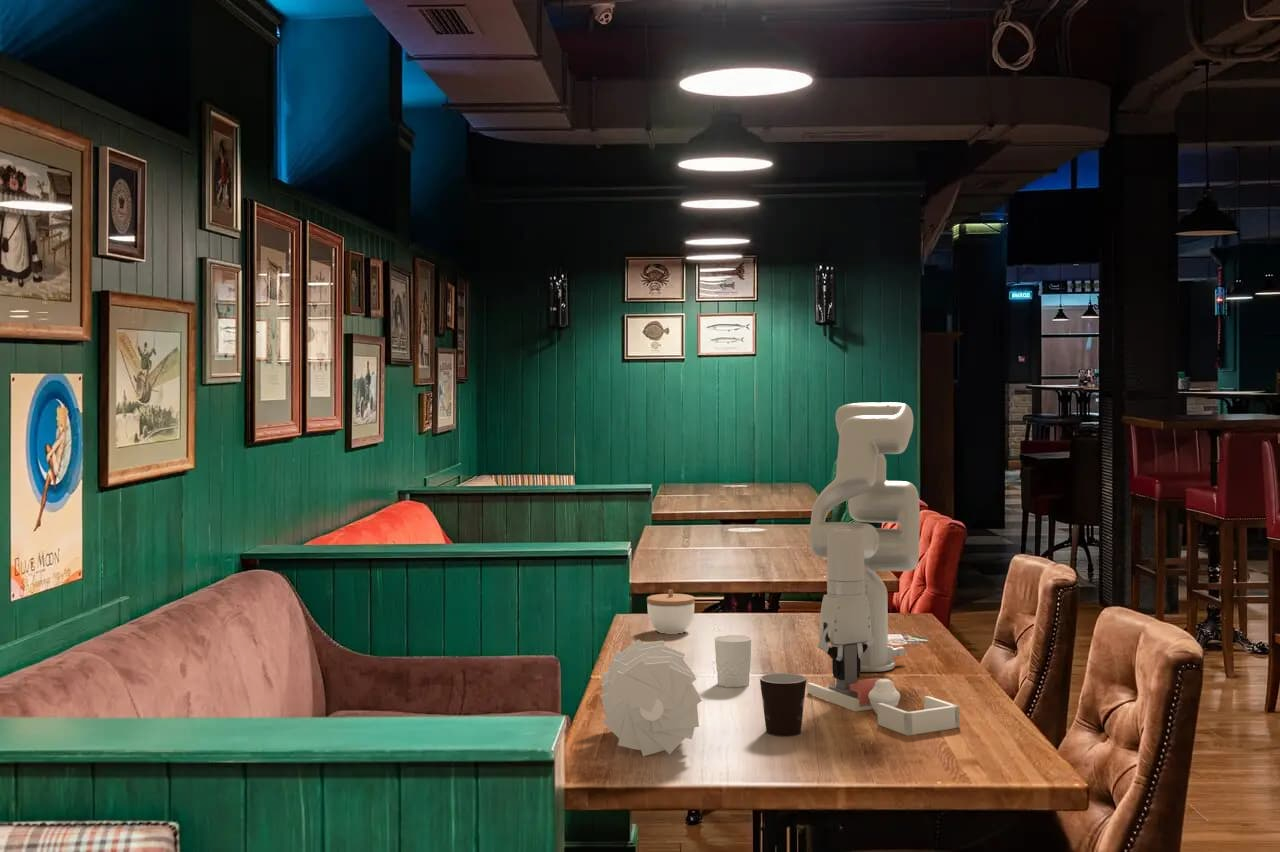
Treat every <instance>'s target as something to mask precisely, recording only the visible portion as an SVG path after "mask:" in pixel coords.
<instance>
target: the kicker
mask: <svg viewBox="0 0 1280 852" xmlns="http://www.w3.org/2000/svg"><path fill="white" fill-rule="evenodd" d="M842 660H843V661H844V662H845V679H844V680H839V679H836V678H835V679H836V685H835V684H834V685H828V686H827V687H828V689H830V690H833V691H836V692H839V693H842V694H844V695H847V696H850V697H853V698H857V697H858V700H859V704H861V705H863V704H870V699H869V697H868V694H869V692H870V691H871V690H872V689H873V687H874V686H875V682H876V681H877V680H879V679H883V678H882V677H871V678H865V679H858V678H857V644H849V645H843V654H842Z"/></svg>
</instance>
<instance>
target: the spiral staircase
mask: <svg viewBox="0 0 1280 852" xmlns="http://www.w3.org/2000/svg"><path fill="white" fill-rule="evenodd" d="M685 655H686V653H685V652H682V651H680V650H677V649H675V648H672V647H670V646H668V645H665V640H657V641H649V642H642V641H641V639H639V638H638V639H637V640H636V641H634V642H633V643H632V644H630V645H629V646H628V647H626V648H625V649H624V650H623V651H619V650H617V649H616V650H615V653H614V656H613V657H612V660H611V662H610V665H609V667H608V669H607V671H606V672H604V673H603V672H602V673H601V677H602V680H603V683H600V687H601V689H602V692H603V694H601V695H600V699H601V702H602V706H603V709H602V710H601V711H602V713H603V714H604V715H605V717H606V718H605V719H604V721H603V722H602V724H603V725H605V726H606V728H607V729H609V730H610V731H611V732H612V733H613V734H614V735H615V736H616V737H617V738H618V741H617V742H618V743H617V746H619V747H624V748H628V749H632V750H637V751H641V754H642V757H646V756H649V755H653V754H656V753H659V752H662V751H666V752H667V753H668V754H669V755H671V754H672V753H673V751H674V750H675V749H676V748H677V747H678V746H679V745H680V744H681V743H682V742H683V741H684V740H686V739H688V740H692V739H693V735H694V731H695V728H699V727H700V724H699V712H698V705H699V704H700V703H701V702H702V701H703V700H702V699H701V695H700V694H699V692H698V691H697V689H696V687H695V686H694V684H693V683H694V682H695V681H696V680H697V678H696V675H695V673H694V672H693V670H692V669H691V668H690V667H689V666H688V664H687V663H686V661H685V660H684V658H685Z"/></svg>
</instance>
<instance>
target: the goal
mask: <svg viewBox="0 0 1280 852" xmlns="http://www.w3.org/2000/svg"><path fill="white" fill-rule="evenodd" d="M923 698H924V699H923V701H924V703H923V705H924V709H920V710H912V711H906V710H903V709H901V708H898V707H896V708H895V707H893V706H890V705H887V704H884V703H878V714H877V725H878V726H881V727H883V728H887V729H889V730H891V731H893V732H897V733H899V734H903V735H905V736H914V735H919V734H920V735H921V734H927V733H933V732H939V731H945V730H951V729H957V728H960V705H957V704H954V703H952V702H948V701H945V700H941V699H939V698H936V697H932V696H930V695H928V696H924V697H923Z"/></svg>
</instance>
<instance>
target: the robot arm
mask: <svg viewBox="0 0 1280 852" xmlns="http://www.w3.org/2000/svg"><path fill="white" fill-rule="evenodd" d="M914 421H915V420H914V414H913V410H912V408H911V407H910V406H909V404H906V403H903V402H853V403H848V404H843V405H842V406H840V407H838V408H837V410H836V412H835V425H836V429H837V432H838V433H837V434H838V436H839V438H838V448H837V449H838V450H837V457H836V458H837V459H836V472H835V477H834V479H833V480H832V481H831V482H830V483H829V484H828V485H827V486H825V487H824V489H823V490H822V491H821V492H820V494H819V495H818V497H817V498H816V499H815V502H814V504H813V506H812V510H811V517H810V525H809V535H808V536H809V537H808V538H809V542H808V543H809V548H810V551H811V553H812V554H813V555H814V556H816V557H818V558H821V559H822V558H823V559H824V558H825V559H826V577H827V578H826V587H827V588H826V591H827V594H824V595H823V597H822V601H821V602H822V603H821V608H820V614H819V615H820V616H819V631H818V632H819V633H818V636H819V641H818V644H817V649H820V650H821V651H823V652H825V653H826V654H827V655H828V656H829V658H830V659H831V661H832V663H831V664H832V677H833V678H834V679H839V680H844V679H845V662H844V661H843V660H842V654H843V645H849V644H857V679H860V678H861V672H862V673H880V672H881V673H882V672H887V671H891V670H893V669H895V667H896V663H895V661H894V660H893V658H895V657H902V656H905V655H906V649H905V647H903V646H899V647H893V646H891V645H889V642H888V640H889V639H888V637H889V632H888V628H889V627H888V626H889V622H888V620H889V619H888V617H889V615H888V590H887V587H886V585H885V582H884V581H883V580H882V579H881V577H880V576H879V575H878V574H877V573H876V572H882V571H883V572H885V571H886V572H910V571H913V570H915V569H916V568H917V567H918V565H919V561H920V560H919V559H920V525H921V524H920V512H921V511H920V508H921V507H920V496H919V492H918V489H917V487H916V485H914V484H913V483H912V482H910V481H905V480H904V481H903V480H887V459H886V457H885V455H900V454H902V453H904V452H905V451H906V449H907V447H908V444H909V442H910V438H911V437H912V433H913V428H914ZM846 501H847V502H848V503H847V504H848V507H847V508H848V513H849V516H850V517H851V519H853V520H854V521H857V522H849V521H847V522H845V521H826V519H827V516H828V514H829V513H830V512H831V511H832V509H834V508H835V507H836V506H838V505H839V504H842V503H844V502H846ZM870 523H883V524H884V523H886V524H887V523H888V524H889V523H890V524H891V523H893V524H896V525H898V526H899V528H881V527H875V526H874V525H872V524H870ZM829 644H830V645H829Z"/></svg>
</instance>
